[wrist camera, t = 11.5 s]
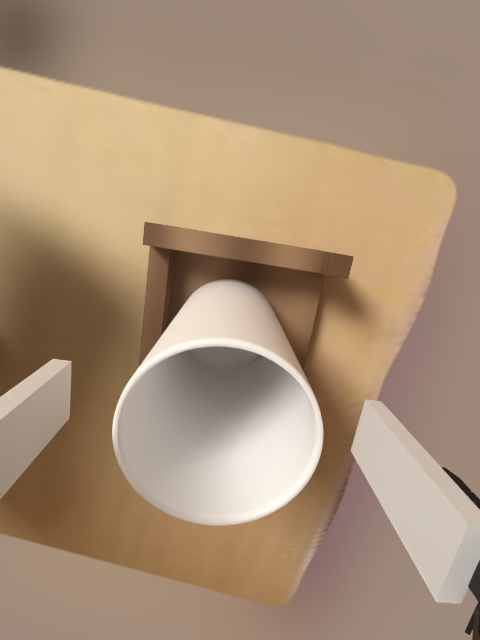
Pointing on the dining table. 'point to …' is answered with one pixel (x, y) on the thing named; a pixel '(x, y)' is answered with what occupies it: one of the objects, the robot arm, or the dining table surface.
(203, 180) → the dining table surface
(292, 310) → the tray
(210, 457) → the cup
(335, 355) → the dining table surface
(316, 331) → the dining table surface
